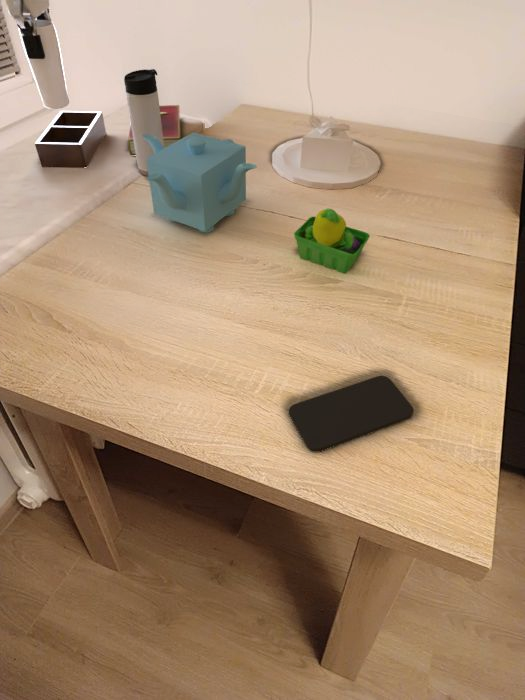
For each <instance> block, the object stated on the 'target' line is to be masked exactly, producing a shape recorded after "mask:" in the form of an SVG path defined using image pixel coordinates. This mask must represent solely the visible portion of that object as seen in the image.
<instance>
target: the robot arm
mask: <svg viewBox="0 0 525 700" xmlns="http://www.w3.org/2000/svg"><path fill="white" fill-rule="evenodd" d="M5 4H6V8H7V11H8V15H9V16H10V17H11V18H12V19H13V20H14V22H15V23H16V26H17V27H19V28H18V30H19V29H20V32H19V34H20V33H21V35H22V38H23V41H24V45H25V48H26V52H27V55H28V58H29V59H44V58H45V54H44V50H43V46H42V42H41V38H40V35H37V27H36V20H48V21H52V18H51V16H50V0H5ZM28 21H31V26H30V24H29V23H28Z"/></svg>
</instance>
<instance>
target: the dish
mask: <svg viewBox="0 0 525 700" xmlns="http://www.w3.org/2000/svg"><path fill="white" fill-rule="evenodd" d="M308 120H309V125H310V126H312V127H313V128H312V129H311V130H310V131H309V132H307V133H306V134H304V135H303V136H302V137H299V138H295V139H290V140H287V141H285V142H283V143H281V144H280V145H277V147H276V148H275V149H274V150H273V152H272V154H271V162H272V164H271V165H272V169H274V171H275V172H276V173H277V174H278V176H280V177H281V178H283V179H285V180H287V181H288V182H291V183H294V184H298V185H300V186H304V187H307V188H313V189H321V190H322V189H324V190H342V189H352V188H355V187H359V186H362V184H363V185H366V184H368V183H369V182H371V181H373V180H374V179H376V178H377V177H378V174H379V172H378V171H380V169H381V164H382V163H381V160H380V157H379V156H378V154H377V153H376V152H375V151H373V150H372V148H371V149H370V147H368V146H366V145H363V144H361V143H359V142H357V141H354V140H353V139H352V138H351V137H350V135H349V134H348V133H347V132H346V131H351V126H350V125H349V124H347V123H339V122H338V121H337V120H336V119H335V118H334V117H333V116H332V115H330V116H329V117H328V118H326V119H325V120H324V121H322V119H321V118H319V117H318V116H315V115H310V116H309V119H308ZM376 176H377V177H376ZM373 178H374V179H373ZM370 180H371V181H370Z"/></svg>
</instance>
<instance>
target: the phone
mask: <svg viewBox="0 0 525 700" xmlns="http://www.w3.org/2000/svg"><path fill="white" fill-rule="evenodd" d="M414 412H415V409H414V407H413V405H412V404H411V403H410V402H409V400H408V399H407V398H406V396H404V394H403V393H402V392H401V391H400V389H399V388H398V387H397V385H396V384H395V382H393V381H392V380H391V378H390V377H389V376H387V375H377V376H374V377H371V378H368V379H364V380H362V381H358V382H356V383H353V384H350V385H347V386H344V387H341V388H338V389H335V390H333V391H330V392H327V393H324V394H321V395H318V396H317V395H316V396H314V397H312V398H309V399H308V398H307V399H306V400H303V401H299V402H296V403H294V404H292V405H290V407H289V409H288V416H289V415H290V416H289V418H290V417H291V418H290V420H291V419H292V420H291V422H292V421H293V422H292V423H293V425H294V427H295V426H296V427H295V428H297V429H296V431H297V432H298V431H299V432H298V433H300V434H299V436H300V435H301V436H300V437H301V439H302V438H303V439H302V441H303V440H304V441H303V443H304V442H305V443H306V444H305V443H304V444H305V446H306V445H307V446H306V448H307V449H308V448H309V449H310V450H309V449H308V450H309V451H311V450H312V451H311V452H313V451H320V452H323V451H326V450H328V449H327V448H329V449H331V448H334V447H337V446H339V445H338V444H340V445H342V444H345V443H347V441H348V442H350V441H353V440H355V438H356V439H358V438H361V437H363V435H364V436H366V435H369V434H372V433H374V431H375V432H376V431H380V430H383V429H386V428H388V427H391V426H393V425H396V424H398V423H402V422H404V421H406V420H409V419H411V418H412V417H413V414H414ZM390 425H391V426H390ZM382 428H383V429H382ZM379 429H380V430H379ZM371 432H372V433H371ZM368 433H369V434H368ZM360 436H361V437H360ZM352 439H353V440H352ZM349 440H350V441H349ZM344 442H345V443H344ZM341 443H342V444H341ZM336 445H337V446H336ZM333 446H334V447H333ZM330 447H331V448H330ZM325 449H326V450H325ZM322 450H323V451H322Z"/></svg>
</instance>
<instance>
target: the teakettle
mask: <svg viewBox="0 0 525 700" xmlns="http://www.w3.org/2000/svg"><path fill="white" fill-rule="evenodd" d="M142 136H143V137H144V138H145V139H146V140H147V141H148V142H149V144H150V145H151V147H152V149H153V151H154V154H153V155H151V156H150V157H148V158H147V159H146V162H147V168H148V175H149V176H146V178H145V179H146V180H147V181H149V189H150V194H151V200H152V207H153V213H154V215H157V216H160V217H163V218H166V219H168V220H169V221H170V222H174V223H179V224H183V225H186V226H188V227H191V228H195V229H198V231H199V232H201V233H211V232H213V230H214V229H215V227H214V226H215V225H216V224H217V223H218V222H220V220H222V219H224V218H225V217H229V216H230V217H231V216H233V215H234V214H235V209H236V208H237V207H239V206H240V205H241V204H243V203H244V202H245V201H246V200H247V172H249V171H251V170H253V169H256V168H258V166H257V165H256V164H254V163H249V162H247V160H246V159H247V156H246V155H247V154H246V152H247V151H246V150H247V149H246V148H247V147H246V145H242V144H238V143H235V141H234V140H233V139H230V138H224V139H220V138H216V137H214V136H213V137H212V136H209V135H205V134H201V133H197V132H195V131H194V132H191V133H189V134H188V135H185V136H184V137H181V139H180V140H178V141H176V142H175V143H173V144H171V145H169V146H167V147H166V148H164V147H163V145H162V144H161V142H160V141H159V140H158V139H157V138H156V137H154V136H152V135H148V134H144V135H142Z"/></svg>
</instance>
